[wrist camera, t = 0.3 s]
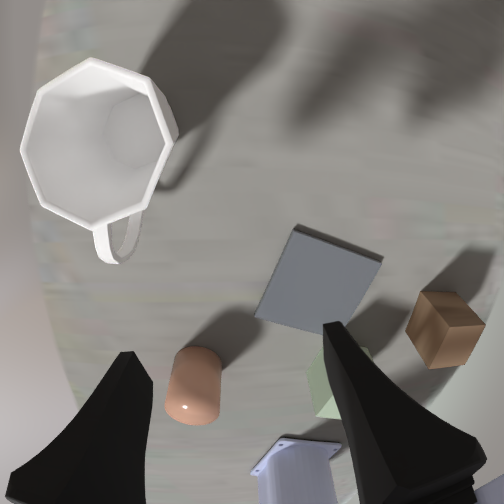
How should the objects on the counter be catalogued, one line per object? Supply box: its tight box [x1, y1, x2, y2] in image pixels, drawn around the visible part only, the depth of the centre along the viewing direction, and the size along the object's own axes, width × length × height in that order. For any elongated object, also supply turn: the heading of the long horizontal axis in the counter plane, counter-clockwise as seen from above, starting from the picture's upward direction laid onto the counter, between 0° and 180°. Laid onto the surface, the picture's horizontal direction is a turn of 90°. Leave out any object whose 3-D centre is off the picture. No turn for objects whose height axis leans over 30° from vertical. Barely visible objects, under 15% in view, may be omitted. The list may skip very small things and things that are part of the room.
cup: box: [20, 57, 179, 264], centre depth 15 cm, size 7×10×8 cm
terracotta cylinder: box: [165, 346, 222, 425], centre depth 23 cm, size 4×4×5 cm
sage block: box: [306, 346, 373, 420], centre depth 24 cm, size 4×4×5 cm
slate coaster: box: [254, 229, 382, 335], centre depth 23 cm, size 7×7×1 cm
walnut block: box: [405, 291, 486, 369], centre depth 22 cm, size 4×4×5 cm
